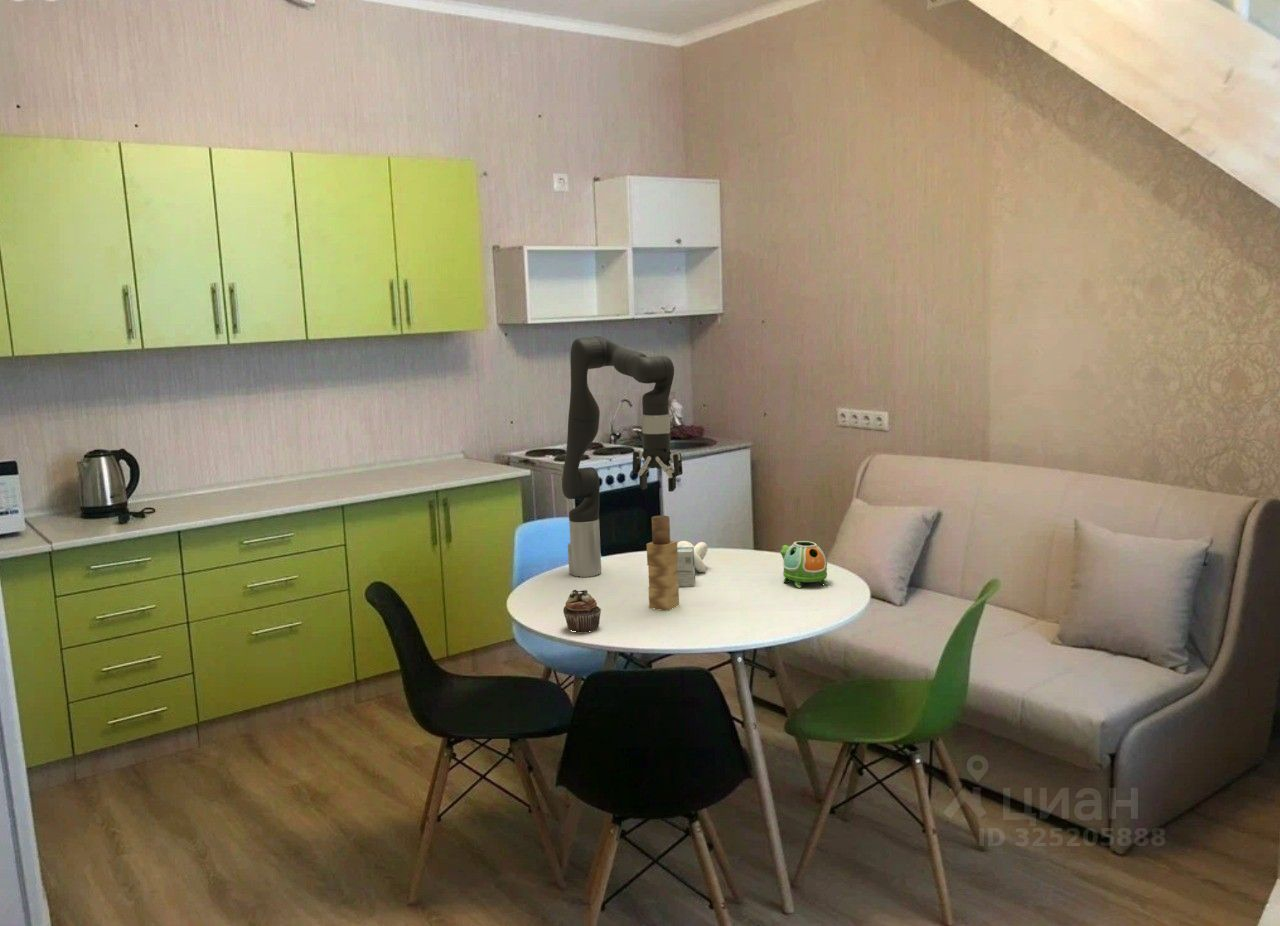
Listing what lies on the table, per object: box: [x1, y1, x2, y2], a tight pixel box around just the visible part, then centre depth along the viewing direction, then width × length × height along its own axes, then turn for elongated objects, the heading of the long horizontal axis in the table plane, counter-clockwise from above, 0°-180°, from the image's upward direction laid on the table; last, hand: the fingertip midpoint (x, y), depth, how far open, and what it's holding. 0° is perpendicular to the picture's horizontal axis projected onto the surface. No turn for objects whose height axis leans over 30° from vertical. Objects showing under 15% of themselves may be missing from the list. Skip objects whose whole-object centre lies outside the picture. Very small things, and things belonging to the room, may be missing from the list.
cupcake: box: [563, 589, 602, 633], centre depth 264 cm, size 10×10×10 cm
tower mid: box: [647, 564, 678, 589], centre depth 280 cm, size 6×6×6 cm
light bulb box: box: [677, 545, 696, 587], centre depth 303 cm, size 11×7×11 cm, turn 84°
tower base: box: [648, 584, 680, 612], centre depth 280 cm, size 6×6×6 cm
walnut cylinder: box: [651, 515, 671, 545], centre depth 278 cm, size 5×5×7 cm
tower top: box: [646, 540, 678, 568], centre depth 279 cm, size 6×6×6 cm
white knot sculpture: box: [677, 540, 708, 573], centre depth 318 cm, size 11×12×9 cm
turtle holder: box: [780, 540, 828, 589], centre depth 300 cm, size 12×18×12 cm
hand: (657, 490), depth 279 cm, fingers open, 8 cm apart
